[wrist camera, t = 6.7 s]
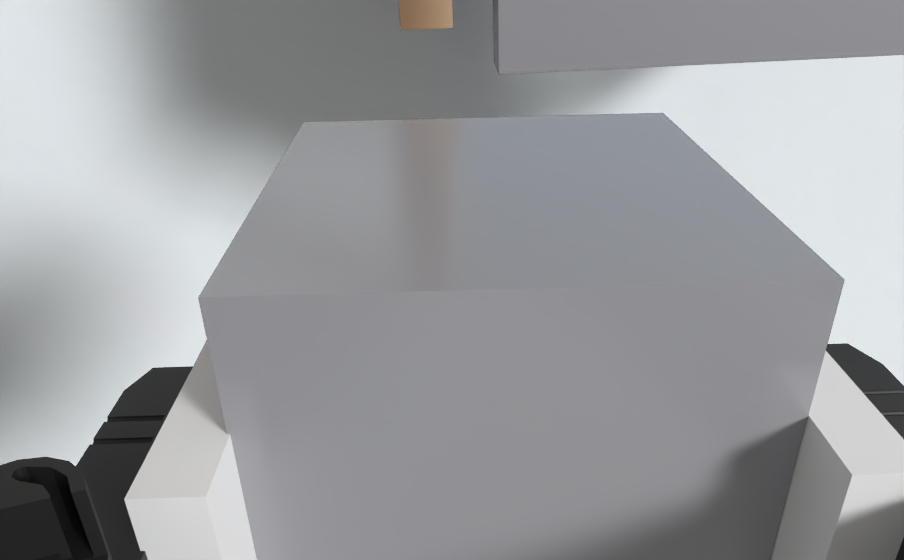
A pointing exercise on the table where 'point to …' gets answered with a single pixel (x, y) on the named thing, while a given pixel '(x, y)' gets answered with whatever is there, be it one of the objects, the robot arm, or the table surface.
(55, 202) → the table surface
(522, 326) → the gray cube
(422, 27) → the frame
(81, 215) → the table surface
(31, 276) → the table surface
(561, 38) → the plate
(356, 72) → the table surface
